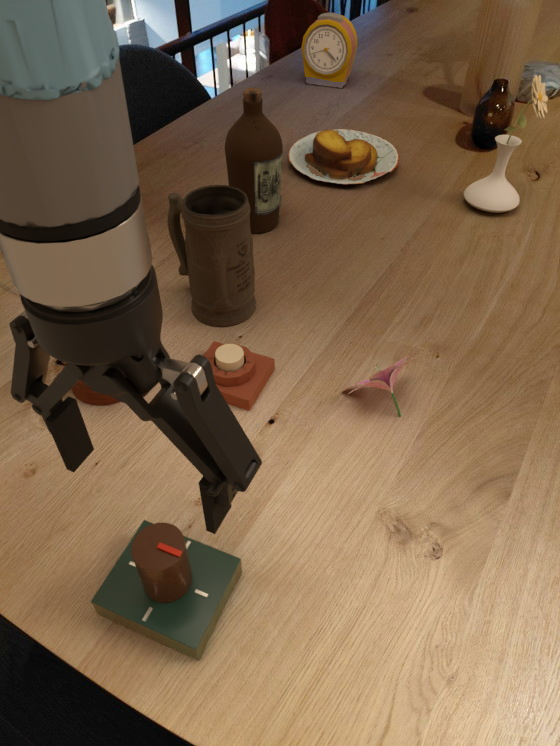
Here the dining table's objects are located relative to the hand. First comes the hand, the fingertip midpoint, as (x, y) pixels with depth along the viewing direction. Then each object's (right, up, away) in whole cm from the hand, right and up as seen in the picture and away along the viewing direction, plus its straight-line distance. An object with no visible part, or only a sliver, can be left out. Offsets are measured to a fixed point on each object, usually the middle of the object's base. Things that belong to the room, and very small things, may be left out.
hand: (147, 488), depth 47 cm
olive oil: (+6, +40, +68) cm, 79 cm away
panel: (-1, -14, +14) cm, 20 cm away
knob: (-1, -12, +12) cm, 16 cm away
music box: (-14, +8, +36) cm, 39 cm away
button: (+4, +11, +34) cm, 36 cm away
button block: (+4, +9, +36) cm, 37 cm away
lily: (+25, +6, +34) cm, 43 cm away
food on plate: (+26, +59, +87) cm, 108 cm away
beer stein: (-1, +21, +49) cm, 53 cm away
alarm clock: (+25, +98, +126) cm, 161 cm away
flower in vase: (+56, +46, +74) cm, 104 cm away
